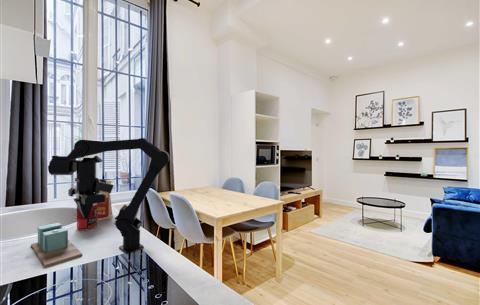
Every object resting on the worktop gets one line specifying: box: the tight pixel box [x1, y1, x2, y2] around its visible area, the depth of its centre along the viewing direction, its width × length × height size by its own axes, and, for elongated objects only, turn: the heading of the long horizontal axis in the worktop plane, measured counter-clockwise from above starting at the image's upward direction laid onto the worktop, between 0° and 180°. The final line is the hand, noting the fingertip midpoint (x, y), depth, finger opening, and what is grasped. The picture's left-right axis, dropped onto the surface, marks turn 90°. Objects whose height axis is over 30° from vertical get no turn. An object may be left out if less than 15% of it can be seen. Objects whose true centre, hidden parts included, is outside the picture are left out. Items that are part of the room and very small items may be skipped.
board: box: [30, 239, 83, 268], centre depth 82 cm, size 21×10×1 cm, turn 51°
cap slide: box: [43, 227, 69, 253], centre depth 82 cm, size 4×6×6 cm, turn 141°
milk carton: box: [97, 178, 114, 221], centre depth 118 cm, size 9×9×20 cm
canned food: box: [76, 203, 98, 231], centre depth 104 cm, size 8×8×11 cm
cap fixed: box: [37, 222, 63, 246], centre depth 87 cm, size 4×6×6 cm, turn 141°
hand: (86, 218), depth 81 cm, fingers closed
